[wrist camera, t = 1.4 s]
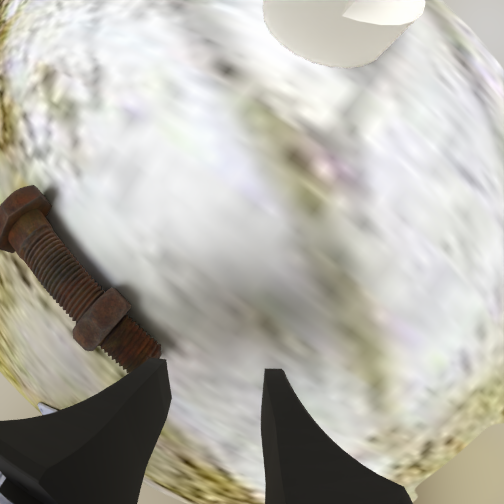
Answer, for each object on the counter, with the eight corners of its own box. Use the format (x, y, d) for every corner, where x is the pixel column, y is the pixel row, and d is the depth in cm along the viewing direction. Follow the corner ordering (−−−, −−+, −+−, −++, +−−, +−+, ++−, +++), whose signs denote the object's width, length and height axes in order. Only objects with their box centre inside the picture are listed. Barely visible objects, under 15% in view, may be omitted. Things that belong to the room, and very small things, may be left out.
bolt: (159, 341, 21) (41, 212, 18) (186, 327, 18) (46, 172, 15) (119, 395, 17) (-9, 249, 14) (138, 395, 13) (-18, 212, 11)
